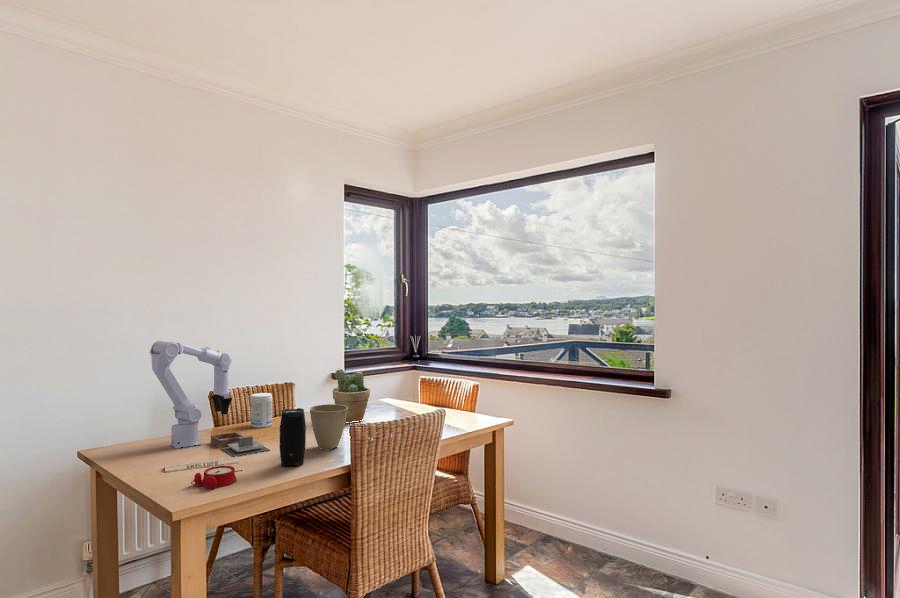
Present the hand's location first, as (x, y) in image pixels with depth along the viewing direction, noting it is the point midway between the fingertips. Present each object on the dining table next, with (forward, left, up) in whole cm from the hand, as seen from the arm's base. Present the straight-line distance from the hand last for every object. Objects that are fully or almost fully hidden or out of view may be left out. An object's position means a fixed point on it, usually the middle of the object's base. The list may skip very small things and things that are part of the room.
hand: (221, 412), depth 232 cm
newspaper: (-19, -37, -11) cm, 43 cm away
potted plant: (+60, -7, -11) cm, 61 cm away
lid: (+1, -26, -10) cm, 28 cm away
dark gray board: (+1, -26, -10) cm, 28 cm away
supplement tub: (+22, +10, -11) cm, 26 cm away
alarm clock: (-21, -59, -11) cm, 63 cm away
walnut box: (-1, -12, -10) cm, 16 cm away
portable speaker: (+7, -55, -11) cm, 56 cm away
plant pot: (+28, -43, -11) cm, 52 cm away
